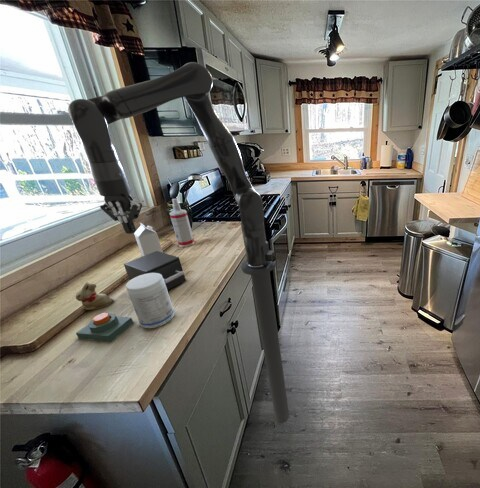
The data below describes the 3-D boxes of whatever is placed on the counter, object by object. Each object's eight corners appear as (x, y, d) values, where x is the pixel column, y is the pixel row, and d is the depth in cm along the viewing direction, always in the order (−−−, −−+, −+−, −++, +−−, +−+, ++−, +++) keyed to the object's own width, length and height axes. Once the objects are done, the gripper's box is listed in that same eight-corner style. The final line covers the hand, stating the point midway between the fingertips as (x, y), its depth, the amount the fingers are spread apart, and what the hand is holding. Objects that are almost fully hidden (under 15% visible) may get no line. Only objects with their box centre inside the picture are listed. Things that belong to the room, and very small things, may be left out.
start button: (113, 317, 79) (111, 313, 78) (102, 325, 75) (100, 321, 75) (103, 316, 79) (100, 312, 78) (91, 324, 76) (89, 320, 75)
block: (133, 323, 82) (129, 312, 80) (111, 341, 74) (106, 330, 73) (103, 320, 83) (98, 310, 82) (78, 338, 76) (72, 328, 74)
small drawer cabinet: (185, 280, 104) (179, 257, 100) (154, 297, 94) (145, 271, 90) (164, 273, 111) (156, 250, 107) (132, 287, 101) (123, 263, 97)
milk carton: (148, 268, 116) (135, 228, 108) (144, 263, 120) (130, 224, 113) (166, 262, 120) (154, 223, 113) (161, 258, 125) (149, 220, 117)
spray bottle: (178, 248, 136) (164, 201, 126) (179, 243, 142) (166, 198, 132) (194, 245, 138) (182, 199, 128) (194, 240, 145) (183, 196, 135)
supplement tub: (139, 318, 83) (123, 279, 78) (171, 306, 89) (159, 268, 83) (143, 334, 77) (126, 293, 71) (178, 320, 82) (165, 280, 76)
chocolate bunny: (92, 301, 93) (81, 277, 89) (115, 300, 94) (105, 276, 90) (80, 311, 88) (67, 286, 84) (104, 309, 88) (93, 284, 84)
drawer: (192, 282, 101) (187, 262, 98) (164, 298, 92) (157, 276, 89) (165, 273, 109) (159, 254, 106) (136, 286, 100) (129, 266, 96)
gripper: (140, 175, 78) (158, 228, 85) (102, 176, 80) (122, 228, 87) (119, 179, 71) (140, 237, 78) (78, 180, 73) (102, 237, 80)
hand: (131, 232), depth 82 cm, fingers closed
